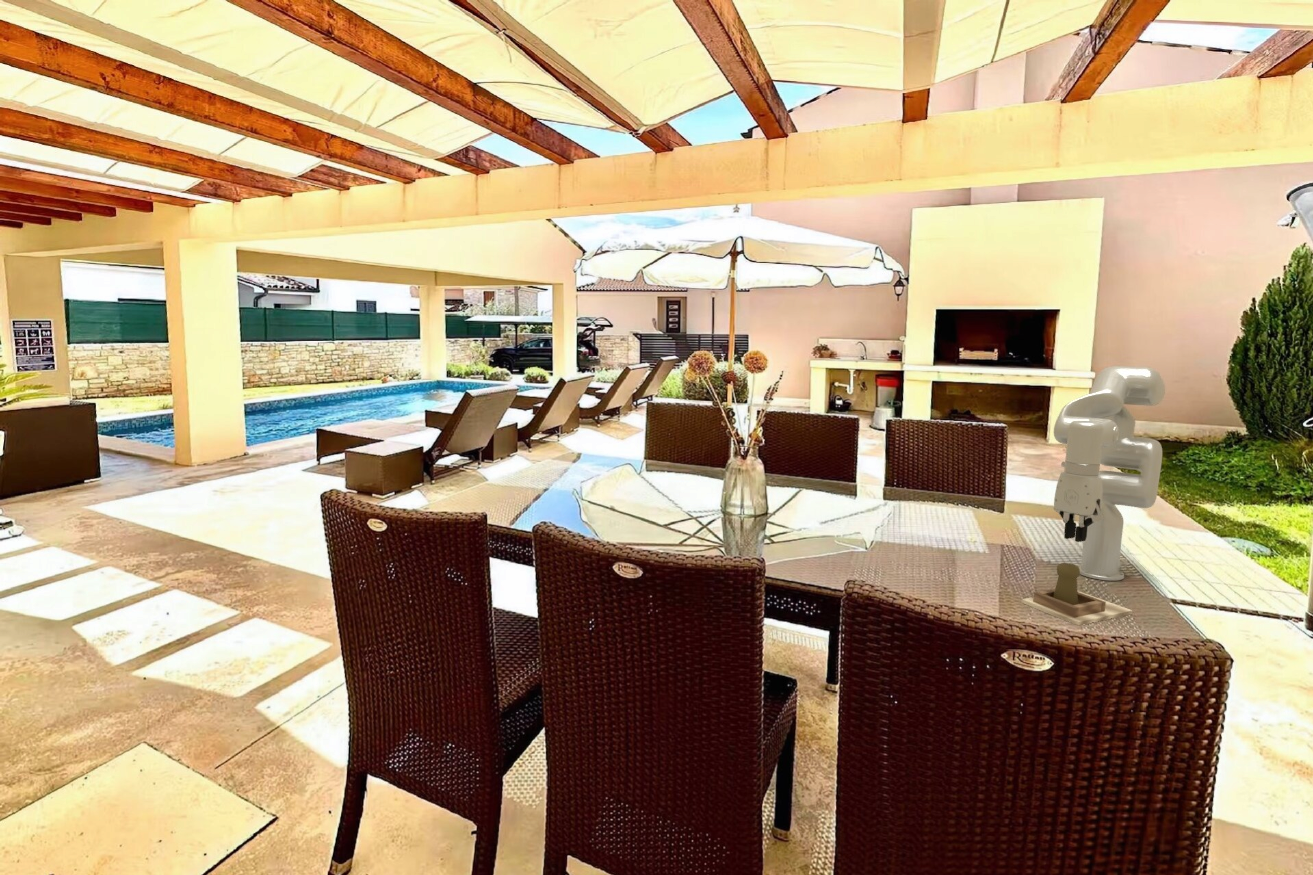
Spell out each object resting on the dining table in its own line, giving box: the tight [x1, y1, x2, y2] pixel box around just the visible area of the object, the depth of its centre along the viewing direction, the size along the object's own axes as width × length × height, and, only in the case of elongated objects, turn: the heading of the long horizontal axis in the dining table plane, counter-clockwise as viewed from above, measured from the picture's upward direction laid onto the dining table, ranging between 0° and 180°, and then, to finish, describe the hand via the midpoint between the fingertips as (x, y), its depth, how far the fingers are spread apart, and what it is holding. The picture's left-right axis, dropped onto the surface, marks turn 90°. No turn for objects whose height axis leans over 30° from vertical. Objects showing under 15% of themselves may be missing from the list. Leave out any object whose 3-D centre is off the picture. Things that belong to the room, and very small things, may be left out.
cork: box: [1053, 562, 1081, 605], centre depth 178 cm, size 6×6×11 cm
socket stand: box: [1021, 588, 1133, 627], centre depth 179 cm, size 20×16×4 cm
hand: (1074, 539), depth 175 cm, fingers closed
